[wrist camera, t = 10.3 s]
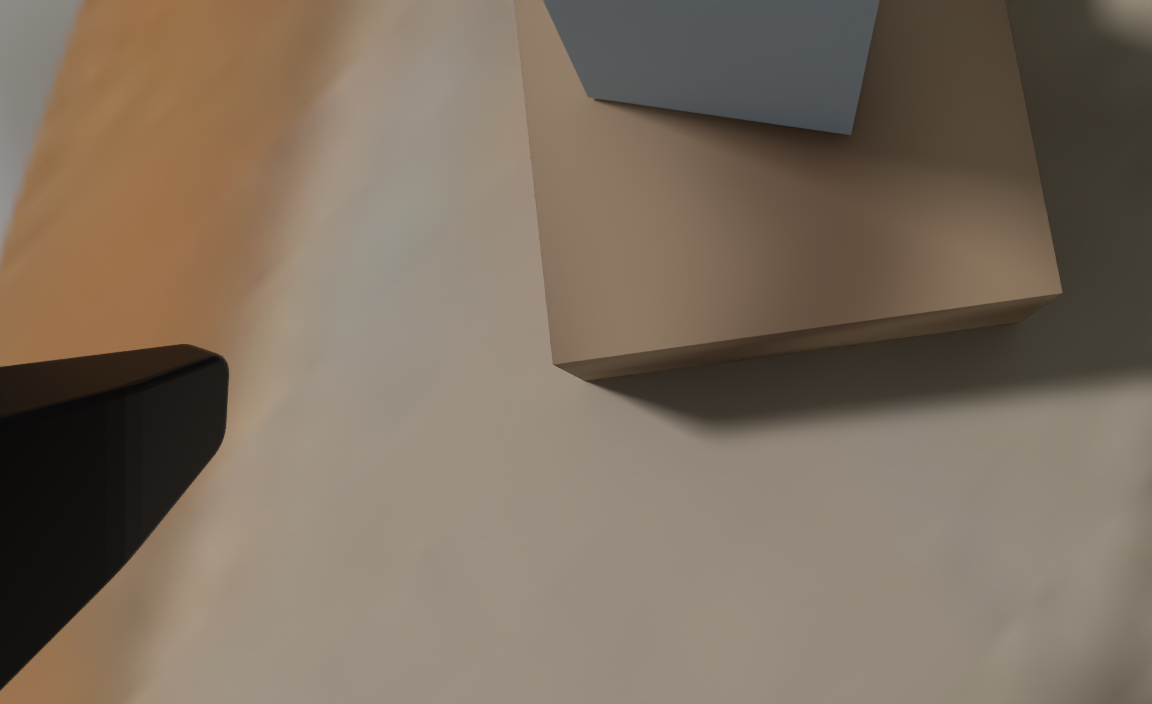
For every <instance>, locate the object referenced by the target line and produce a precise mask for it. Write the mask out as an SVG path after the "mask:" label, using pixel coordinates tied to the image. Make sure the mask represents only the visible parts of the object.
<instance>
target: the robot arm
mask: <svg viewBox="0 0 1152 704" xmlns="http://www.w3.org/2000/svg"><path fill="white" fill-rule="evenodd" d="M228 385H229V367H228V364H227V361H226V360H225V359H224V358H223V356H221V355H219V354H217V353H214V352H211V351H208V350H205V349H202V348H199V347H196V346H193V345H189V344H179V345H171V346H163V347H155V348H147V349H139V350H131V351H123V352H115V353H107V354H99V355H91V356H83V357H75V358H67V359H59V360H51V361H43V362H35V363H27V364H19V365H11V366H3V367H0V691H1V690H2V689H3V688H4V687H5V686H6V685H7V684H8V683H9V682H10V681H11V680H12V679H13V678H14V677H15V676H16V675H17V673H18V672H19V671H20V670H21V669H22V668H23V667H24V666H25V665H26V664H27V663H28V662H29V661H30V660H31V659H32V658H33V657H34V656H35V655H36V654H37V653H38V652H39V651H40V650H41V649H42V648H43V647H44V646H45V645H46V644H47V643H48V642H49V641H50V640H51V639H52V638H53V637H54V636H55V635H56V634H57V633H58V632H59V631H60V630H61V629H62V628H63V627H64V626H65V625H66V624H67V623H68V622H69V621H70V620H71V619H72V618H73V617H74V616H75V615H76V614H77V613H78V612H79V611H80V610H81V609H82V608H83V607H84V606H85V605H86V604H87V603H88V602H89V601H90V600H91V599H92V598H93V597H94V596H95V595H96V594H97V593H98V592H99V591H100V590H101V589H102V588H103V587H104V586H105V585H106V584H107V583H108V582H109V581H110V580H111V579H112V578H113V577H114V576H115V575H116V574H117V573H118V572H119V571H120V570H121V568H122V567H123V566H124V565H125V564H126V563H127V562H128V561H129V560H130V558H131V557H132V556H133V555H134V554H135V553H136V552H137V550H138V549H139V548H140V547H141V546H142V544H143V543H144V542H145V541H146V539H147V538H148V537H149V536H150V535H151V533H152V532H153V531H154V530H155V528H156V527H157V526H158V525H159V523H160V522H161V521H162V520H163V518H164V517H165V516H166V515H167V513H168V512H169V511H170V510H171V508H172V507H173V506H174V505H175V504H176V502H177V501H178V500H179V499H180V497H181V496H182V495H183V494H184V492H185V491H186V490H187V489H188V487H189V486H190V485H191V484H192V482H193V481H194V480H195V479H196V477H197V476H198V475H199V474H200V473H201V471H202V470H203V469H204V468H205V466H206V465H207V464H208V463H209V461H210V460H211V459H212V458H213V456H214V455H215V454H216V452H217V451H218V449H219V447H220V445H221V443H222V441H223V438H224V435H225V430H226V419H227V402H228Z"/></svg>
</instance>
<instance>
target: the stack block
mask: <svg viewBox="0 0 1152 704" xmlns="http://www.w3.org/2000/svg"><path fill="white" fill-rule="evenodd" d="M514 2H515V12H516V21H517V30H518V40H519V49H520V59H521V68H522V77H523V87H524V96H525V106H526V115H527V125H528V134H529V143H530V153H531V162H532V172H533V181H534V190H535V200H536V209H537V219H538V228H539V237H540V247H541V256H542V266H543V275H544V285H545V294H546V303H547V313H548V322H549V332H550V341H551V350H552V360H553V365H555V366H557V367H559V368H561V369H563V370H565V371H566V372H568V373H570V374H572V375H574V376H576V377H578V378H580V379H582V380H584V381H589V380H596V379H604V378H611V377H618V376H626V375H633V374H641V373H648V372H655V371H663V370H670V369H677V368H685V367H692V366H700V365H707V364H714V363H722V362H729V361H736V360H744V359H751V358H759V357H766V356H773V355H781V354H788V353H796V352H803V351H810V350H818V349H825V348H832V347H840V346H847V345H855V344H862V343H869V342H877V341H884V340H892V339H899V338H906V337H914V336H921V335H928V334H936V333H943V332H951V331H958V330H965V329H973V328H980V327H987V326H995V325H1002V324H1010V323H1017V322H1020V321H1022V320H1023V319H1025V318H1026V317H1028V316H1029V315H1031V314H1032V313H1034V312H1035V311H1037V310H1038V309H1040V308H1041V307H1043V306H1044V305H1046V304H1047V303H1049V302H1050V301H1052V300H1053V299H1055V298H1056V297H1058V296H1059V295H1061V294H1062V293H1063V292H1062V287H1061V282H1060V277H1059V272H1058V267H1057V262H1056V256H1055V251H1054V246H1053V241H1052V236H1051V231H1050V226H1049V221H1048V215H1047V210H1046V205H1045V200H1044V195H1043V190H1042V185H1041V180H1040V175H1039V169H1038V164H1037V159H1036V154H1035V149H1034V144H1033V139H1032V134H1031V128H1030V123H1029V118H1028V113H1027V108H1026V103H1025V98H1024V93H1023V88H1022V82H1021V77H1020V72H1019V67H1018V62H1017V57H1016V52H1015V47H1014V41H1013V36H1012V31H1011V26H1010V21H1009V16H1008V11H1007V6H1006V1H1005V0H880V1H879V6H878V11H877V15H876V20H875V25H874V29H873V34H872V39H871V44H870V48H869V53H868V58H867V62H866V67H865V72H864V76H863V81H862V86H861V91H860V95H859V100H858V105H857V109H856V114H855V119H854V124H853V128H852V133H851V135H846V134H839V133H832V132H825V131H818V130H811V129H804V128H797V127H790V126H784V125H777V124H770V123H763V122H756V121H749V120H742V119H735V118H728V117H721V116H714V115H707V114H701V113H694V112H687V111H680V110H673V109H666V108H659V107H652V106H645V105H638V104H631V103H625V102H618V101H611V100H604V99H597V98H590V97H588V96H587V94H586V92H585V90H584V87H583V85H582V83H581V81H580V79H579V77H578V75H577V72H576V70H575V68H574V66H573V64H572V62H571V59H570V57H569V55H568V53H567V51H566V49H565V47H564V44H563V42H562V40H561V38H560V36H559V34H558V31H557V29H556V27H555V25H554V23H553V21H552V19H551V16H550V14H549V12H548V10H547V8H546V6H545V3H544V1H543V0H514Z"/></svg>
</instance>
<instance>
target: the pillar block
mask: <svg viewBox="0 0 1152 704" xmlns="http://www.w3.org/2000/svg"><path fill="white" fill-rule="evenodd" d="M543 1H544V3H545V6H546V8H547V10H548V12H549V14H550V16H551V19H552V21H553V23H554V25H555V27H556V29H557V31H558V34H559V36H560V38H561V40H562V42H563V44H564V47H565V49H566V51H567V53H568V55H569V57H570V59H571V62H572V64H573V66H574V68H575V70H576V72H577V75H578V77H579V79H580V81H581V83H582V85H583V87H584V90H585V92H586V94H587V96H588V97H590V98H597V99H604V100H611V101H618V102H625V103H631V104H638V105H645V106H652V107H659V108H666V109H673V110H680V111H687V112H694V113H701V114H707V115H714V116H721V117H728V118H735V119H742V120H749V121H756V122H763V123H770V124H777V125H784V126H790V127H797V128H804V129H811V130H818V131H825V132H832V133H839V134H846V135H851V133H852V128H853V124H854V119H855V114H856V109H857V105H858V100H859V95H860V91H861V86H862V81H863V76H864V72H865V67H866V62H867V58H868V53H869V48H870V44H871V39H872V34H873V29H874V25H875V20H876V15H877V11H878V6H879V1H880V0H543Z"/></svg>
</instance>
